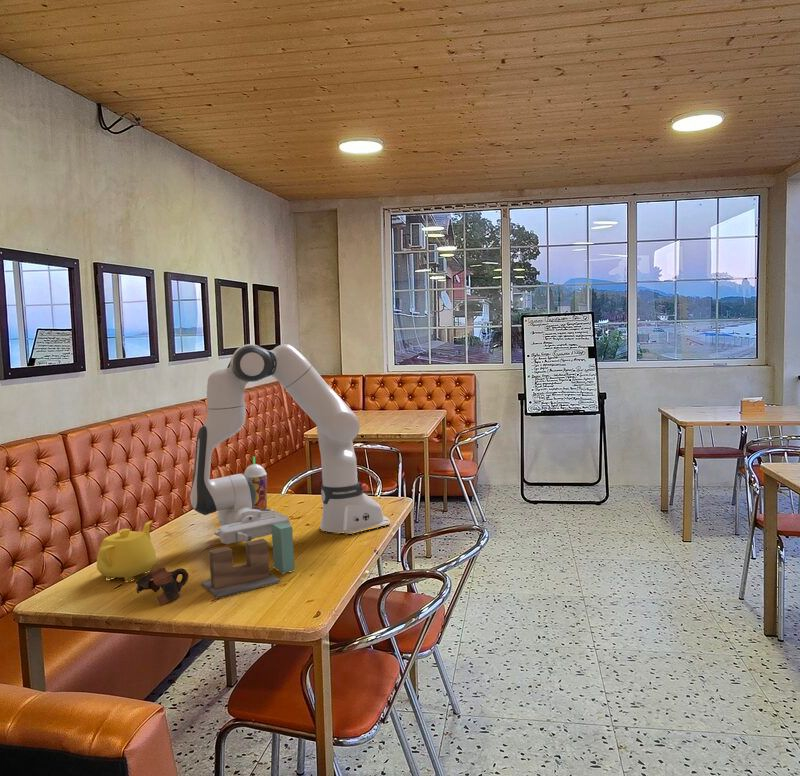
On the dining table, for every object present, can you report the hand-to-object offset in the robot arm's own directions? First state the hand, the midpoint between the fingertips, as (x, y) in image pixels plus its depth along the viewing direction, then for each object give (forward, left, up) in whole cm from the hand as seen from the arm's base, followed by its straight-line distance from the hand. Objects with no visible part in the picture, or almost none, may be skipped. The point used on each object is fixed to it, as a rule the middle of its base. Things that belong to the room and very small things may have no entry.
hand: (265, 535), depth 181 cm
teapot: (+35, -7, -7) cm, 36 cm away
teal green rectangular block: (-2, +12, -7) cm, 14 cm away
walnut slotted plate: (+10, +16, -7) cm, 20 cm away
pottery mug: (+28, +15, -7) cm, 32 cm away
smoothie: (-8, -50, -7) cm, 52 cm away
